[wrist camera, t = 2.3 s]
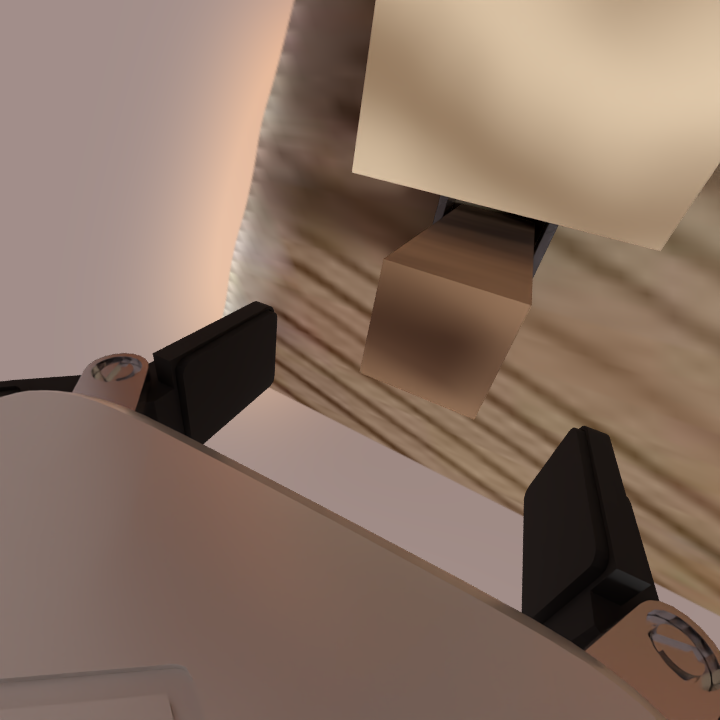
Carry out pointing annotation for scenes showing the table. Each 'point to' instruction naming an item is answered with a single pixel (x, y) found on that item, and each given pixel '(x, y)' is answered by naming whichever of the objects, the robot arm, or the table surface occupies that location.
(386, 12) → the lid
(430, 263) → the brown wooden block
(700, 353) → the table surface
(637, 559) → the robot arm
